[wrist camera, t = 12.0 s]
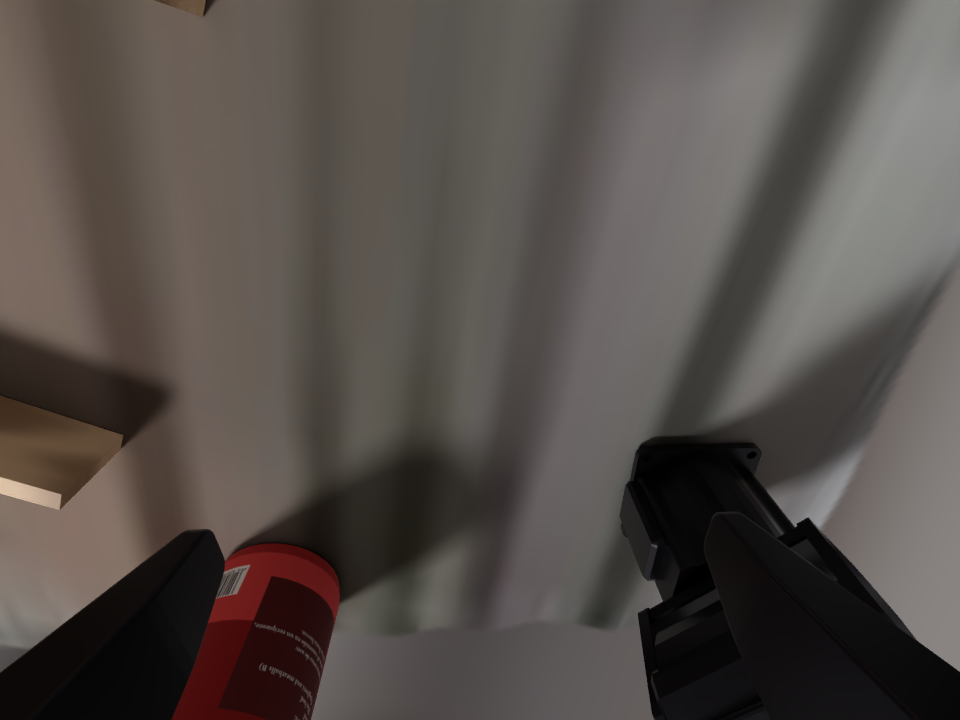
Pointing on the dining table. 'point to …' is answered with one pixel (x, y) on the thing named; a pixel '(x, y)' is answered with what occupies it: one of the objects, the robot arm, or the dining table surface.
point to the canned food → (264, 638)
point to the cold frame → (55, 432)
